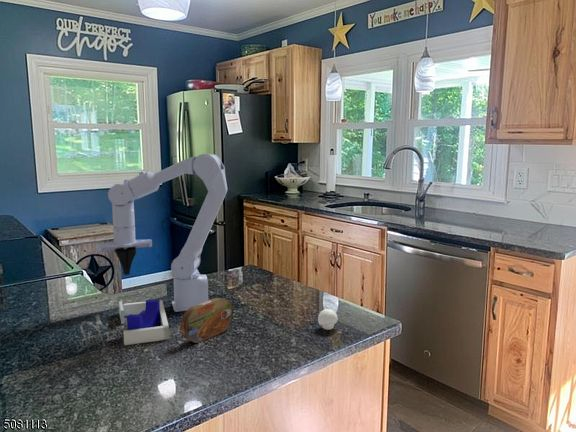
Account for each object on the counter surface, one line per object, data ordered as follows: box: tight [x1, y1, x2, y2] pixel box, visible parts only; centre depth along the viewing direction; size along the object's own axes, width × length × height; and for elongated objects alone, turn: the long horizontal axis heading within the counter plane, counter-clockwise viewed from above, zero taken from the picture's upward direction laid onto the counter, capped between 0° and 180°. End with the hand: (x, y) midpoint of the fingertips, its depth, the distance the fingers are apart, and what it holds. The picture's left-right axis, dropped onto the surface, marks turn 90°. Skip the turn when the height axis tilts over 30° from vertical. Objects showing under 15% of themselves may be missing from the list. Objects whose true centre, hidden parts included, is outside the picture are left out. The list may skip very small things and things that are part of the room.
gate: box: [117, 298, 126, 325], centre depth 115 cm, size 1×8×4 cm, turn 24°
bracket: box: [123, 299, 170, 346], centre depth 110 cm, size 10×20×3 cm, turn 20°
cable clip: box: [126, 299, 160, 330], centre depth 108 cm, size 12×4×6 cm, turn 174°
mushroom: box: [317, 308, 339, 331], centre depth 109 cm, size 5×5×5 cm
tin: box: [180, 297, 234, 344], centre depth 105 cm, size 15×3×8 cm, turn 143°
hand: (126, 273), depth 124 cm, fingers closed
